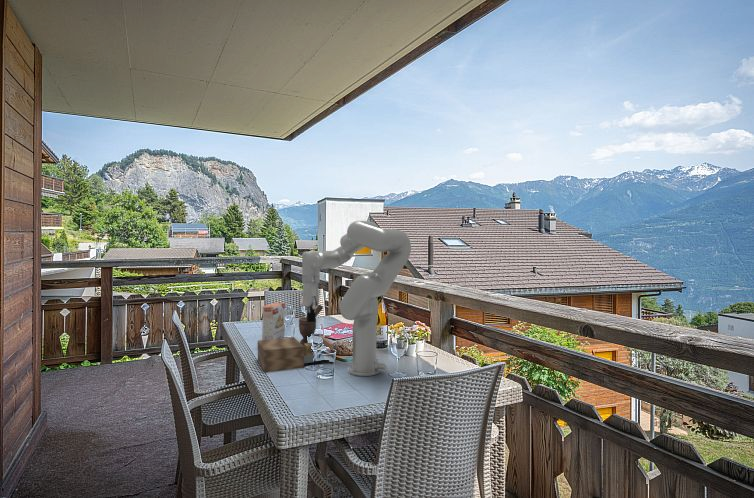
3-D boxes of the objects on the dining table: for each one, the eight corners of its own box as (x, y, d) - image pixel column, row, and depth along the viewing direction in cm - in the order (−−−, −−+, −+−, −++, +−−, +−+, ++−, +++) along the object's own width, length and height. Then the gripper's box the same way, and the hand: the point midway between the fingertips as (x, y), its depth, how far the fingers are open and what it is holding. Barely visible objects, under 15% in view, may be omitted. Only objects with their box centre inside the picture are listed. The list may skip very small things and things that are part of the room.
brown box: (294, 356, 194) (294, 337, 194) (303, 367, 177) (303, 346, 177) (257, 360, 187) (257, 340, 187) (264, 372, 171) (264, 350, 171)
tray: (321, 352, 199) (321, 335, 199) (333, 362, 182) (333, 344, 182) (286, 356, 192) (286, 338, 192) (295, 367, 176) (295, 347, 176)
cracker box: (273, 350, 204) (273, 306, 203) (261, 350, 205) (261, 306, 205) (285, 343, 218) (285, 302, 217) (274, 343, 219) (274, 302, 218)
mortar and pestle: (319, 340, 223) (318, 302, 223) (324, 344, 215) (324, 305, 215) (297, 343, 218) (296, 304, 218) (301, 347, 210) (301, 306, 210)
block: (314, 353, 191) (314, 342, 191) (318, 356, 186) (317, 345, 186) (303, 354, 189) (303, 343, 189) (306, 357, 184) (306, 346, 184)
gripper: (298, 278, 192) (298, 319, 193) (306, 281, 178) (306, 325, 179) (314, 277, 195) (314, 318, 196) (324, 280, 181) (324, 324, 182)
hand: (311, 321), depth 187 cm, fingers closed
